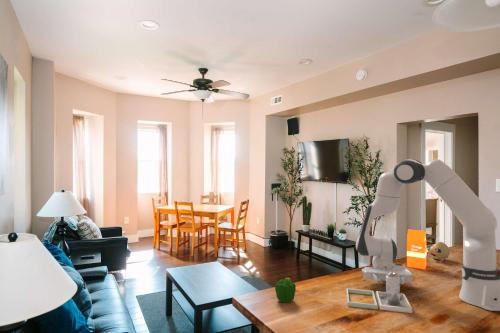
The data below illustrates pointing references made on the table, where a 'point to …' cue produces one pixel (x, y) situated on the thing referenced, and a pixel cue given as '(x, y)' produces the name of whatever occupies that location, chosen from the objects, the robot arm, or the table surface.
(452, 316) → the table surface
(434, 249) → the toy pig
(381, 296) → the bin
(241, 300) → the table surface
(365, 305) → the bin
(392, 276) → the chrome tube with bumps
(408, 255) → the orange juice
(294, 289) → the bell pepper
